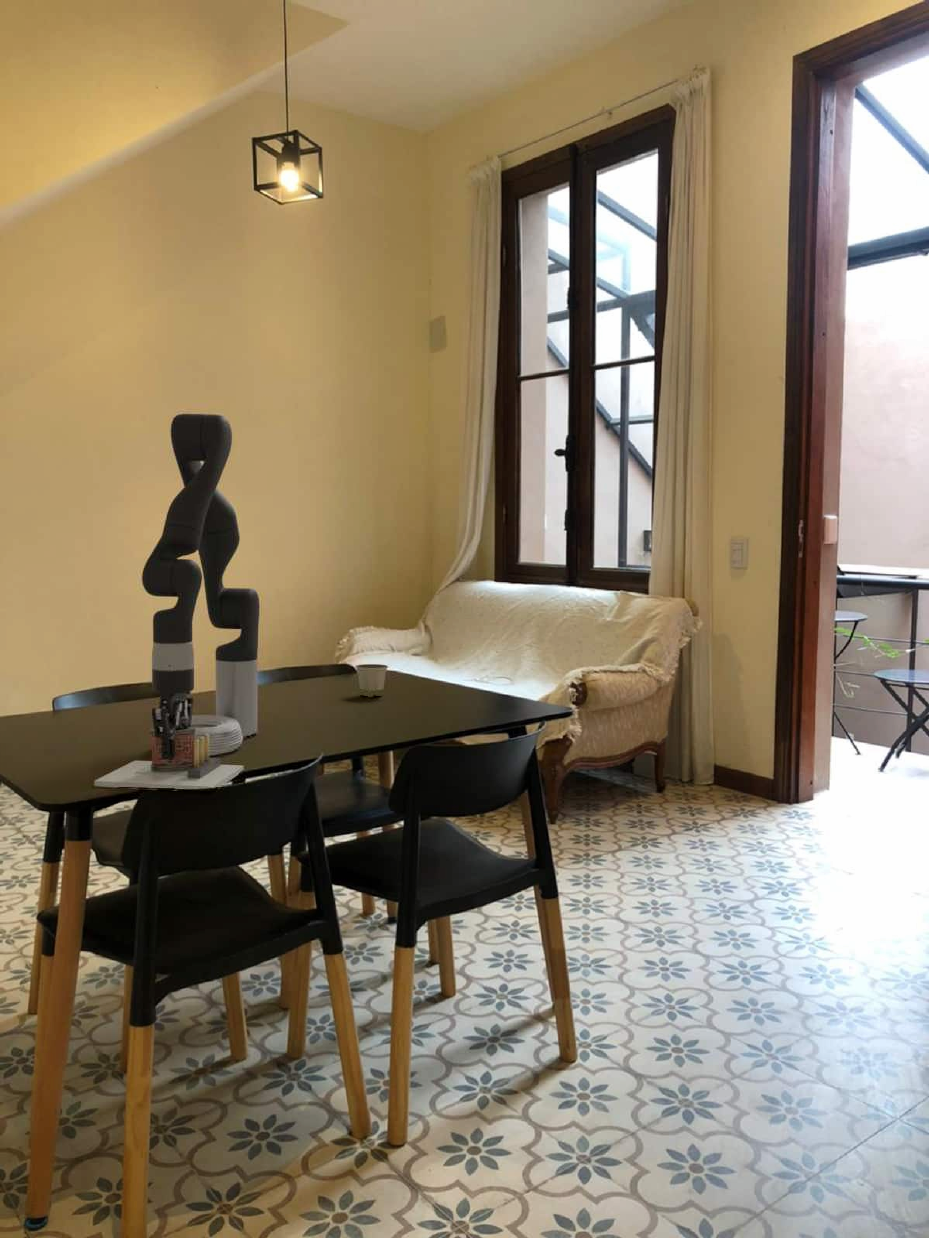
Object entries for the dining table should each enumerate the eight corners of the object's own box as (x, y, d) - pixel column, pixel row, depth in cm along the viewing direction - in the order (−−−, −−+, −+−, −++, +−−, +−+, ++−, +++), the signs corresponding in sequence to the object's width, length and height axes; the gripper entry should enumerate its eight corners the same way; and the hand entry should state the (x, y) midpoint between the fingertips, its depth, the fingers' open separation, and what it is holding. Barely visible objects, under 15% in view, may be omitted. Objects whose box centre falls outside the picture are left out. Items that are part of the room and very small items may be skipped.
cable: (218, 737, 218) (217, 711, 217) (258, 751, 205) (258, 723, 205) (143, 748, 206) (143, 720, 205) (182, 763, 193) (181, 733, 193)
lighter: (195, 764, 185) (194, 713, 185) (196, 768, 182) (195, 716, 181) (150, 767, 183) (150, 714, 182) (151, 771, 180) (150, 718, 179)
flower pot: (354, 693, 280) (355, 663, 280) (387, 693, 281) (387, 663, 281) (354, 698, 271) (355, 668, 270) (388, 698, 272) (388, 668, 271)
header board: (135, 765, 190) (134, 727, 189) (243, 770, 187) (243, 732, 187) (94, 786, 174) (93, 745, 173) (212, 792, 171) (212, 750, 171)
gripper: (176, 672, 173) (177, 766, 175) (206, 661, 187) (207, 748, 189) (136, 670, 174) (137, 764, 176) (169, 660, 188) (170, 747, 190)
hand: (173, 755), depth 182 cm, fingers closed on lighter, 4 cm apart
